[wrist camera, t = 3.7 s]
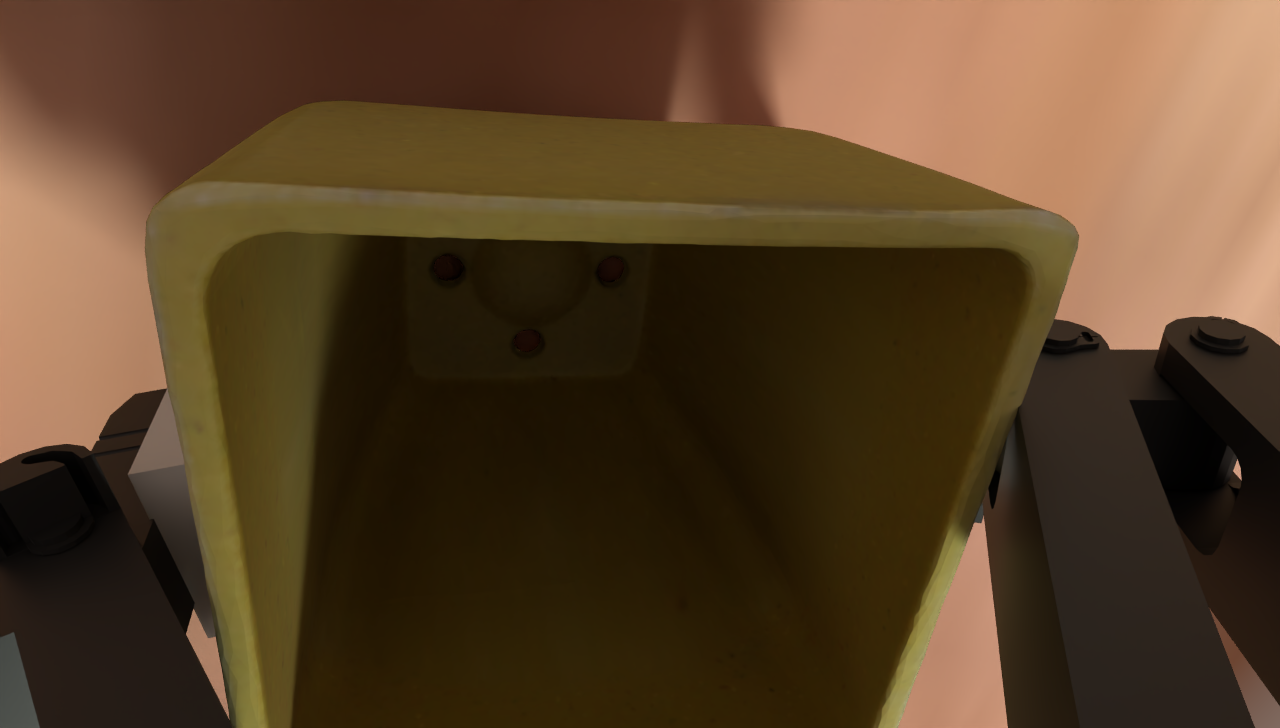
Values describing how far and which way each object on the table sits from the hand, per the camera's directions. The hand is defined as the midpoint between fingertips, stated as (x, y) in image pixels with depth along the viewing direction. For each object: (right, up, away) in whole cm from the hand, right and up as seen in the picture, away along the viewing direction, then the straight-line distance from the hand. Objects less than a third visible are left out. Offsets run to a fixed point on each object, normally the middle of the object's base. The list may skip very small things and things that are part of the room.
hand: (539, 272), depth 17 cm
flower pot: (0, 0, +1) cm, 1 cm away
